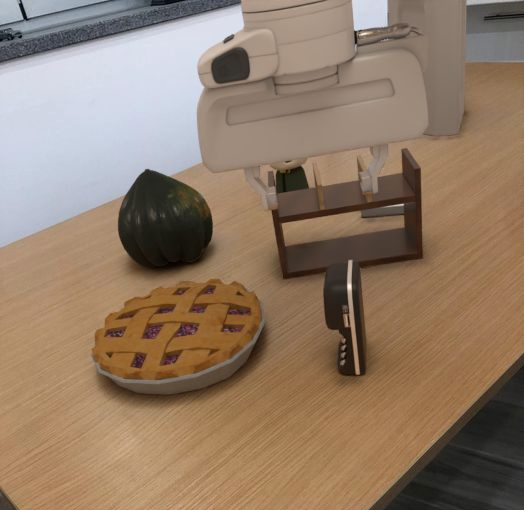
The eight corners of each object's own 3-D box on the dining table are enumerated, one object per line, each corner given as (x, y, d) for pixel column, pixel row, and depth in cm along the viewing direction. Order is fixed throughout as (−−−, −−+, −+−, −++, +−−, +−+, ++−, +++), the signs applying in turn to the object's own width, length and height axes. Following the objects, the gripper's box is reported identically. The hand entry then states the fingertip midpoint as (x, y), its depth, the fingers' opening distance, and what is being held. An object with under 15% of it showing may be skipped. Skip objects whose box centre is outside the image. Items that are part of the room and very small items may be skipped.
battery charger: (334, 342, 71) (323, 256, 65) (366, 340, 71) (359, 253, 64) (331, 378, 66) (319, 288, 59) (366, 377, 65) (357, 285, 59)
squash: (182, 254, 86) (187, 153, 88) (95, 259, 92) (101, 165, 93) (223, 275, 100) (226, 188, 101) (145, 279, 105) (149, 196, 106)
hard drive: (361, 218, 100) (366, 189, 109) (412, 214, 97) (412, 185, 107) (360, 208, 99) (365, 181, 108) (412, 204, 97) (412, 176, 106)
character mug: (259, 206, 112) (246, 135, 104) (276, 191, 116) (265, 123, 109) (312, 208, 106) (303, 134, 99) (328, 192, 111) (320, 121, 104)
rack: (409, 232, 92) (407, 147, 85) (422, 258, 85) (420, 167, 77) (281, 252, 94) (267, 171, 87) (282, 279, 87) (268, 193, 79)
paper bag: (400, 114, 145) (395, -20, 130) (464, 108, 140) (467, -32, 124) (387, 139, 131) (379, -7, 115) (458, 134, 126) (460, -20, 110)
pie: (128, 311, 87) (117, 280, 84) (276, 296, 83) (271, 264, 80) (74, 411, 69) (59, 377, 66) (260, 398, 65) (252, 362, 62)
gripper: (419, 13, 51) (422, 171, 59) (186, 57, 53) (218, 205, 61) (437, 21, 46) (437, 194, 54) (178, 70, 48) (214, 230, 56)
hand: (319, 200), depth 57 cm, fingers open, 8 cm apart
